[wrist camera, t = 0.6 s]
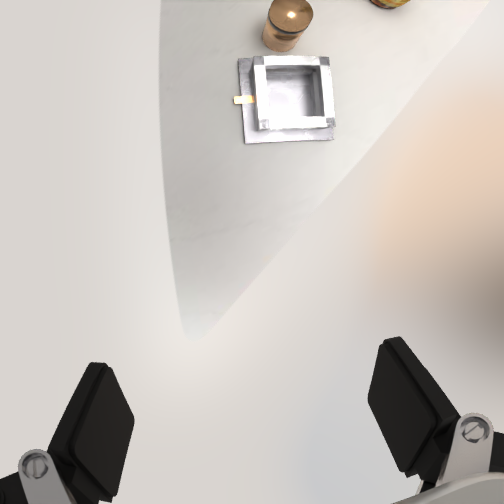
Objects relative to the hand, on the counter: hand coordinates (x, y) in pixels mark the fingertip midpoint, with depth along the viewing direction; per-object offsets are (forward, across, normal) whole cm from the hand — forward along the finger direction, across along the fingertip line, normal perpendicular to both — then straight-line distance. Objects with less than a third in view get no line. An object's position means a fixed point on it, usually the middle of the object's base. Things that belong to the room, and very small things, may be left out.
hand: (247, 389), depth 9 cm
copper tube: (+28, -6, -21) cm, 35 cm away
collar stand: (+28, -7, -13) cm, 31 cm away
